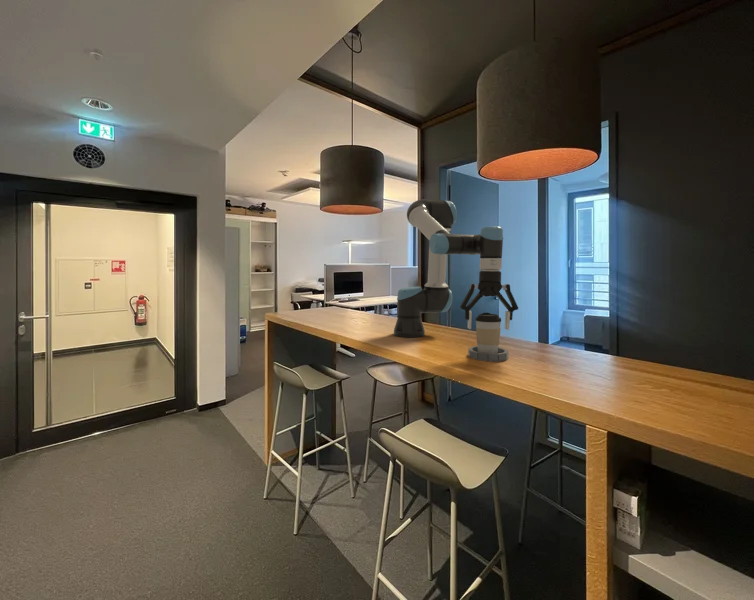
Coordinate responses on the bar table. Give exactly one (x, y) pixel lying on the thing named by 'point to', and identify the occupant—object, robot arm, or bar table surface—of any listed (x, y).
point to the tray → (500, 356)
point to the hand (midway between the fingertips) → (488, 328)
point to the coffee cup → (488, 332)
